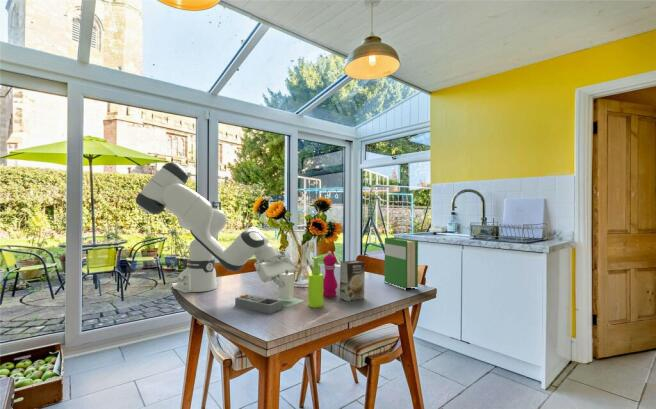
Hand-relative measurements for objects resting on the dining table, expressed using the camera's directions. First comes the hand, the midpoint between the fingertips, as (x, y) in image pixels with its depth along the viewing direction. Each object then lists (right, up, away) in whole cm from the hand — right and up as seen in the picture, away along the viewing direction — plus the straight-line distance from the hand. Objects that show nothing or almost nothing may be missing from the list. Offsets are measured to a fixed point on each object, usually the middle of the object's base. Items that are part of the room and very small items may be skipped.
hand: (287, 284), depth 132 cm
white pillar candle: (-1, -5, 0) cm, 5 cm away
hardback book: (+54, -9, +32) cm, 63 cm away
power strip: (-10, -8, -8) cm, 15 cm away
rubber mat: (-1, -8, 0) cm, 8 cm away
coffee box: (+27, -8, +9) cm, 30 cm away
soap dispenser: (+12, -8, -4) cm, 15 cm away
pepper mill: (+17, -8, +14) cm, 24 cm away
